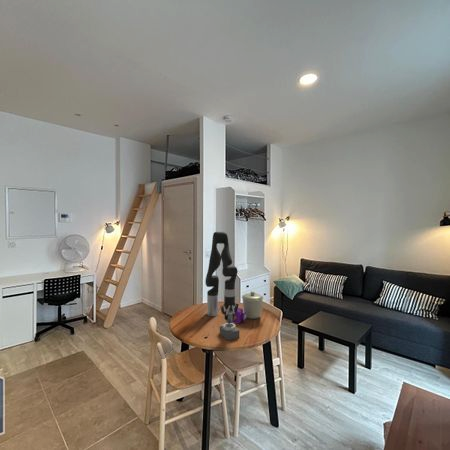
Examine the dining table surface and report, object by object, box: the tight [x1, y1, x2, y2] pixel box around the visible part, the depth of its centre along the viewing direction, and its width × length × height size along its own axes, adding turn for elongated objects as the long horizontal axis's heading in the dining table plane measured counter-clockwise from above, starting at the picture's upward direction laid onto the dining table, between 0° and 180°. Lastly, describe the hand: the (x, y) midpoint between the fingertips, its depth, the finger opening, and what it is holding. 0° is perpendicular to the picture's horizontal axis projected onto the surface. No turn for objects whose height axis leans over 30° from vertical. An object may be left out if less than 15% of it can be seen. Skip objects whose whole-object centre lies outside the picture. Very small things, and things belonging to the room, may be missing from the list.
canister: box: [241, 290, 264, 320], centre depth 203 cm, size 18×18×21 cm
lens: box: [225, 310, 233, 323], centre depth 168 cm, size 5×5×8 cm
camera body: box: [219, 322, 240, 341], centre depth 168 cm, size 12×9×7 cm
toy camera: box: [232, 306, 247, 324], centre depth 193 cm, size 11×14×10 cm
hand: (229, 319), depth 168 cm, fingers closed on lens, 4 cm apart
